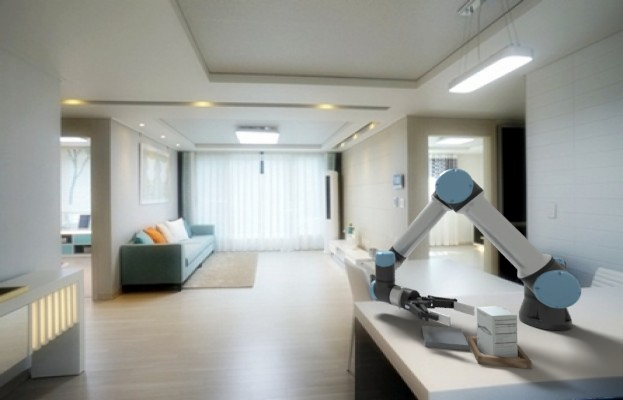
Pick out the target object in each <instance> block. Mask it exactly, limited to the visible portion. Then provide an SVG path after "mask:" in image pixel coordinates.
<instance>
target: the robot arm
mask: <svg viewBox="0 0 623 400" xmlns="http://www.w3.org/2000/svg"><path fill="white" fill-rule="evenodd" d="M430 197H431V199H430V201H429V202H428V203H427V204H426V205H425V206H424V208H423V209H422V210H421V211H420V213H419V214H417V216H416V217H415V219H414V220H413V221H412V222H411V223H409V226H408V227H406V229H405V231H403V232H402V234H401V235H400V236H399V238H397V240H396V241H395V242H394V243H393V244H392V245H391V247H390V248H389V249H388V250H378V251H376V253H375V254H374V255H375V259H374V265H375V266H374V267H375V268H374V269H375V278H374V280H373V281H371V283H370V287H369V289H368V290H369V295H370V296H371V298H373V299H374V300H377V301H378V302H382V303H385V304H388V305H391V306H394V307H397V309H403V310H405V311H408V312H410V313H411V314H412V315H413V316H415V317H416V318H417V319H418V320H420V321H423V320H424V322H427V323H429V320H430V321H433V322H437V323H438V324H439V323H440V324H443V325H445V326H448V327H450V326H451V315H447V314H444V313H442V312H438V311H434V309H436V308H437V309H453V311H456V312H460V313H464V314H466V315H469V316H475V306H473V305H470V304H466V303H463V302H458V299H456V298H449V297H441V296H433V295H429V294H428V295H427V296H424V295H423V296H421V295H420V292H419V291H418V290H416V289H412V288H408V287H406V286H401V285H397V284H396V270H397V269H399V268H400V267H401V266H402V265H403V263H404V262H405V261H406V259H407V258H409V256H410V255H411V254H412V252H413V251H414V250H415V249H416V248H417V247H418V246H419V244H420V243H421V242H422V241H423V240H424V239H425V238H426V236H427V235H428V234H429V233H430V232H431V230H432V229H433V228H434V227H435V226H436V225H437V224H438V223H439V222H440V221H441V219H443V217H444V216H445V214H446V215H447V212H452V211H454V212H455V213H456V214H458V215H459V214H462V215H464V216H465V217H466V218H467V219H468V220H469V221H470V222H471V223H472V224H473V226H474V227H476V229H477V230H478V231H479V232H480V233H481V235H483V236H484V237H485V238H486V239H487V240H488V241H489V242H490V243H491V244H492V245H493V246H494V247H495V248H496V249H497V250H498V251H499V252H500V253H501V254H502V255H503V256H504V257H505V259H507V260H508V261H509V262H510V264H511V265H513V266H514V267H515V269H517V278H518V279H519V280H520V281H521V282H522V283H523V295H524V296H523V299H522V302H521V305H520V307H519V311H518V320H520V321H521V322H522V323H524V324H527V325H528V326H530V327H531V326H532V327H535V328H538V329H543V330H549V331H559V332H561V331H562V332H563V331H569V330H571V329H573V319H572V317H571V314H570V312H569V309H568V308H569V307H572V306H574V305H575V304H577V302H578V301H579V300H580V299H581V295H582V286H581V285H580V282H579V280H578V278H577V277H576V276H575V275H573V274H572V273H570V272H569V271H567V269H566V268H565V267H566V264H565V259H563V258H561V257H553V256H552V255H551V254H549V253H542V252H541V251H540V250H539V249H538V248H537V247H535V245H533V244H532V242H530V241H529V239H527V238H526V236H525V235H523V234H522V233H521V232H520V231H519V230H518V229H517V228H516V227H515V226H514V225H513V224H512V223H511V222H510V221H509V220H508V219H507V218H506V217H505V216H504V215H503V214H502V213H501V212H500V211H498V209H497V208H496V207H495V206H494V205H492V204H491V202H489V201H488V199H487V198H486V196H485V189H483V188H482V187H481V186H480V185H479V184H478V183H477V182H476V181H475V180H474V179H473V177H472V175H470V174H469V173H468V172H467V171H465V170H463V169H461V168H449V169H447V170H444V171H443V172H441V174H439V176H437V178H436V181H435V185H434V192H433V193H432V194H431V196H430ZM428 309H433V310H428Z"/></svg>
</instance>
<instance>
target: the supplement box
mask: <svg viewBox="0 0 623 400" xmlns="http://www.w3.org/2000/svg"><path fill="white" fill-rule="evenodd" d="M476 332H477V333H476V337H477V345H476V346H477V348H478V350H479V352H480V353H482V354H483V355H490V356H501V357H511V358H519V357H518V352H517V345H518V314H517V313H514V312H512V311H510V310H507V309H506V308H504V307H502V306H499V305H489V306H477V307H476Z"/></svg>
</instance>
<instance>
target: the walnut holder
mask: <svg viewBox="0 0 623 400" xmlns="http://www.w3.org/2000/svg"><path fill="white" fill-rule="evenodd" d="M467 343H468V345H469V349H470V350H471V352H472V354H473V356H474V358H475V360H476V362H477V364H480V365H489V366H499V367H509V368H516V369H517V368H519V369H529V370H531V369H532V360H531V359H530V358H529V356H528V355H527V354H526V353H525V352H524V350H523V349H522V348H521V347H520V346H519V344H517V352H518V358H511V357H501V356H490V355H485V354H481V351H479V350H478V348H477V336H467Z"/></svg>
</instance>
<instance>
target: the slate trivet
mask: <svg viewBox="0 0 623 400" xmlns="http://www.w3.org/2000/svg"><path fill="white" fill-rule="evenodd" d="M421 331H422V337H423V342H424V347H427V348H438V349H448V350H449V349H450V350H460V351H461V350H462V351H470V346H469V344H468V340H467V339H466V337H465V334H464V332H463V331H462V329H461V328H454V327H442V326H429V325H421Z"/></svg>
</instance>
